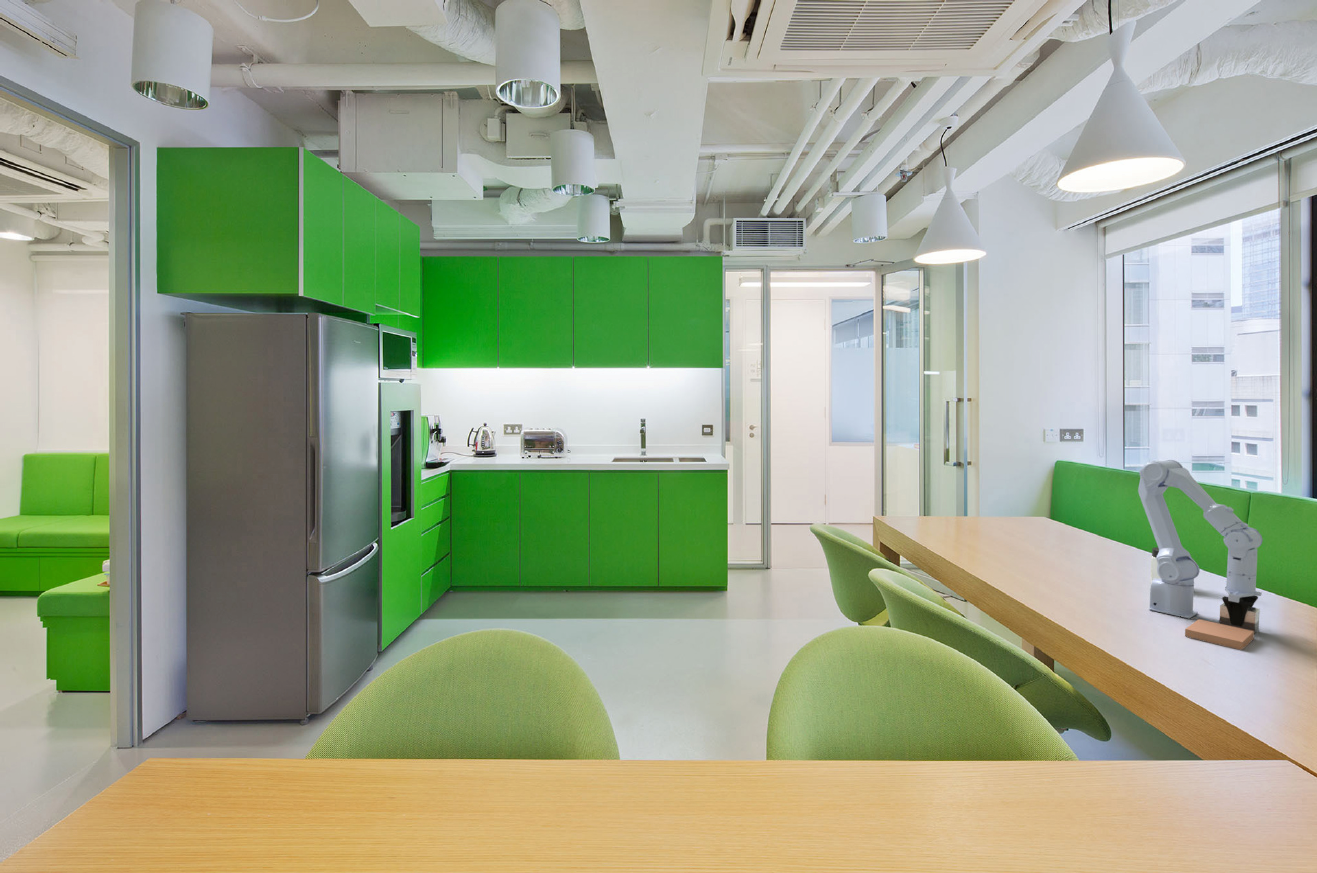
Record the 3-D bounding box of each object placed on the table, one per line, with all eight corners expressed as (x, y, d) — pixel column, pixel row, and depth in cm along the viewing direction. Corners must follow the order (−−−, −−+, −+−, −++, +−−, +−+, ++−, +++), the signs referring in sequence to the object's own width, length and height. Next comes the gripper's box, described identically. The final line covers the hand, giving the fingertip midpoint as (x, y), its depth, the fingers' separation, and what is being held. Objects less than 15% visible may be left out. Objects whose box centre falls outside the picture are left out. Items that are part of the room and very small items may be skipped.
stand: (1184, 636, 161) (1185, 629, 161) (1198, 626, 168) (1198, 619, 168) (1242, 650, 152) (1242, 642, 152) (1253, 638, 159) (1254, 631, 159)
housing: (1219, 627, 168) (1220, 604, 167) (1223, 623, 170) (1224, 601, 170) (1254, 635, 162) (1255, 611, 162) (1258, 631, 165) (1259, 607, 164)
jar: (1156, 588, 202) (1157, 552, 202) (1144, 581, 210) (1146, 546, 209) (1189, 590, 200) (1190, 553, 199) (1176, 583, 207) (1178, 548, 207)
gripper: (1255, 581, 158) (1252, 633, 158) (1268, 572, 166) (1265, 621, 167) (1219, 575, 163) (1216, 625, 164) (1233, 566, 172) (1230, 614, 173)
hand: (1239, 623), depth 166 cm, fingers closed on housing, 4 cm apart
